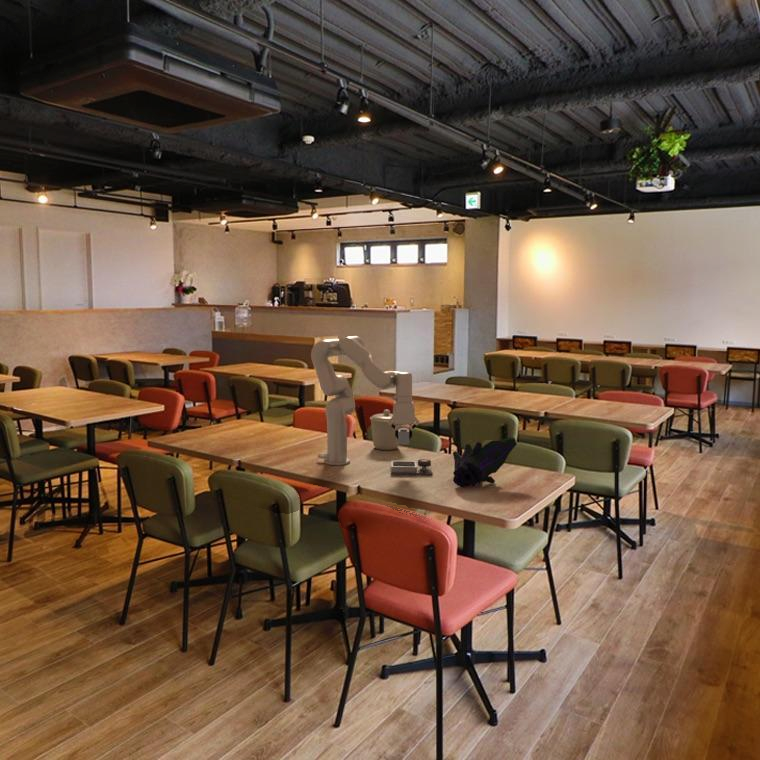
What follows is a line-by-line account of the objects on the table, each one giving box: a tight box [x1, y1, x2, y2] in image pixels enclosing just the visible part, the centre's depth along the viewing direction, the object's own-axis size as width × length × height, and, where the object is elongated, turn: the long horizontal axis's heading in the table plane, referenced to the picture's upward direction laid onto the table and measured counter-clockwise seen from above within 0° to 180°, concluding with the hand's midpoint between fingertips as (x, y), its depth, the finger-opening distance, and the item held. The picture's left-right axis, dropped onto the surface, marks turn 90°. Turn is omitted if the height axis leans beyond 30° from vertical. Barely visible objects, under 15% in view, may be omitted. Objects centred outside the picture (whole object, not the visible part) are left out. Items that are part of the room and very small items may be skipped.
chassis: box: [390, 460, 434, 477], centre depth 291 cm, size 19×12×4 cm, turn 90°
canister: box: [369, 409, 403, 451], centre depth 336 cm, size 18×18×21 cm
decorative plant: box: [452, 437, 518, 488], centre depth 275 cm, size 21×26×30 cm
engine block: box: [398, 427, 410, 446], centre depth 290 cm, size 5×6×7 cm
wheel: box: [417, 458, 432, 467], centre depth 291 cm, size 6×6×2 cm
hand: (403, 438), depth 290 cm, fingers closed on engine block, 5 cm apart
